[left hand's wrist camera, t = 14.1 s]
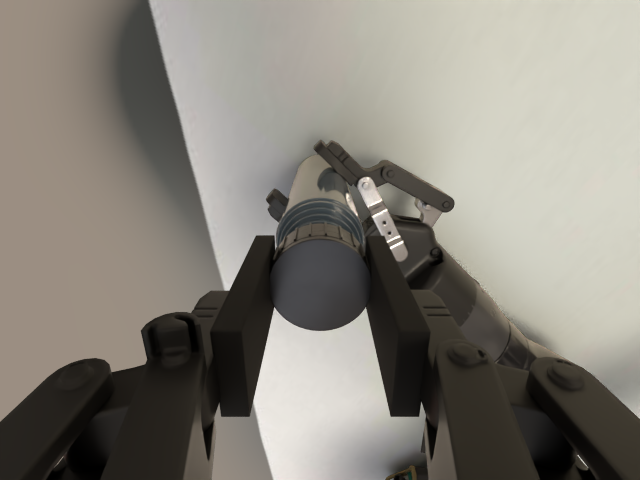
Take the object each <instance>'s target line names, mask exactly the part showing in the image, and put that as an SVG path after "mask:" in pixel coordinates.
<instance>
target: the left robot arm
mask: <svg viewBox="0 0 640 480" xmlns="http://www.w3.org/2000/svg"><path fill="white" fill-rule="evenodd" d="M274 254H275V237H274V236H256V237H255V239H254V241H253V243H252V245H251V247H250V249H249V251H248V254H247V256H246V258H245V260H244V262H243V264H242V266H241V268H240V270H239V272H238V274H237V276H236V278H235V280H234V282H233V285H232V287H231V289H230V291H210V292H209V293H207V294H206V295H204V296H203V297H202V298H200V299H199V301H198V303H197V304H196V306H195V308H194V310H193V311H192V313H187V312H175V313H170V314H165V315H162V316H160V317H157V318H155V319H153V320H152V321H150V322H149V323H147V324H146V325H145V326H144V327H143V329H142V330H141V334H142V338H143V343H144V347H145V351H146V356H147V362H146V364H145V365H142V366H138V367H134V368H130V369H125V370H121V371H116V372H111V369H110V365H109V364H108V363H107V362H106V361H105V360H102V359H97V358H92V359H83V360H79V361H76V362H73V363H70V364H68V365H66V366H64V367H62V368H60V369H58V370H57V371H55V372H54V373H53V374H51V375H50V376H49V377H48V378H46V379H45V380H44V381H43V382H42V383H41V384H40V385H39V386H38V387H37V388H36V389H35V390H34V391H33V392H32V393H31V394H29V395H28V396H27V397H26V398H25V399H24V400H23V401H22V402H21V403H20V404H19V405H18V406H17V407H16V408H15V409H14V410H12V411H11V412H10V413H9V414H8V415H7V416H6V417H5V418H4V419H3V420H2V421H1V422H0V480H212V469H213V459H214V448H215V438H216V427H215V420H214V416H215V413H216V410H217V407H218V404H219V403H220V410H221V416H222V417H249V416H250V413H251V408H252V404H253V399H254V395H255V390H256V386H257V381H258V377H259V373H260V368H261V364H262V359H263V355H264V350H265V346H266V341H267V337H268V333H269V328H270V324H271V319H272V315H273V310H274V305H273V303H272V301H271V297H270V280H269V274H270V270H271V267H272V264H273V261H272V260H273V257H274ZM365 255H366V258H367V262H368V265H369V268H370V273H371V287H370V299H369V302H368V304H367V306H366V309H367V313H368V317H369V322H370V326H371V331H372V335H373V340H374V344H375V349H376V353H377V358H378V362H379V366H380V371H381V375H382V380H383V384H384V389H385V393H386V398H387V402H388V406H389V411H390V415H391V417H419V413H420V406H421V402H422V404H423V407H424V410H425V413H426V420H425V427H424V434H423V440H422V447H421V452H422V453H425V451H426V458H427V468H428V479H429V480H640V419H639V418H638V417H637V416H636V415H635V414H634V413H633V412H632V411H631V410H629V409H628V408H627V407H626V406H625V405H624V404H623V403H622V402H621V401H620V400H619V399H618V398H617V397H616V396H614V395H613V394H612V393H611V392H610V391H609V390H608V389H607V388H606V387H605V386H604V385H603V384H602V383H600V382H599V381H598V380H597V379H596V378H595V377H594V376H593V375H592V374H590V373H589V372H588V371H586V370H585V369H584V368H582V367H580V366H578V365H576V364H574V363H572V362H569V361H567V360H563V359H559V358H553V357H542V358H537V359H536V360H534V361H533V362H532V363H531V367H530V371H526V370H522V369H517V368H513V367H508V366H504V365H500V364H497V363H494V361H493V359H492V357H491V356H490V354H489V353H488V352H487V351H486V350H485V349H483V348H482V347H481V346H479V345H477V344H475V343H472V342H470V341H467V339H466V338H465V336H464V334H463V333H462V331H461V330H460V328H459V326H458V325H457V323H456V322H455V320H454V318H453V317H452V316H451V313H450V312H449V310H448V309H446V305H445V304H444V302H443V301H442V299H441V298H440V297H439V296H438V295H436V294H435V293H434V292H432V291H431V290H410V288H409V286H408V284H407V282H406V280H405V277H404V275H403V273H402V271H401V269H400V267H399V265H398V263H397V261H396V259H395V257H394V255H393V253H392V251H391V249H390V247H389V244H388V242H387V240H386V238H385V236H366V244H365ZM577 455H579V456H580V457H581V459H582V460H583V461H584V463H585V464H586V465H587V466H588V467H587V466H586V465H585V464H584V463H583V462H582V461H581V460H580V458H579V457H578V456H577ZM62 457H63V458H62ZM61 458H62V460H61V461H60V462H59V460H60V459H61ZM58 462H59V464H58V465H57V466H56V464H57V463H58Z"/></svg>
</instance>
